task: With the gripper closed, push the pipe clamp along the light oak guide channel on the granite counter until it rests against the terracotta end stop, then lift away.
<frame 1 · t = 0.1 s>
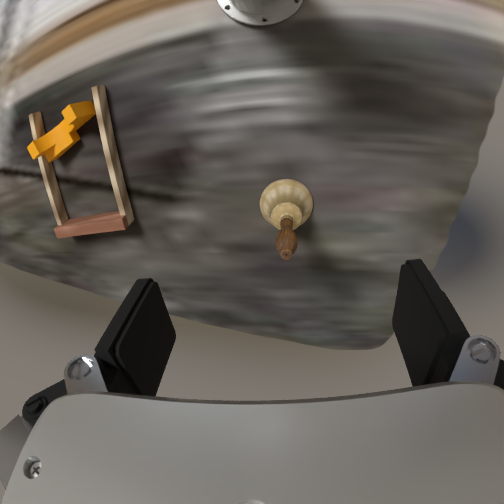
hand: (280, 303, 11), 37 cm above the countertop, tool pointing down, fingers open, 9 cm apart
guide channel: (81, 163, 47), on the countertop
hand bell: (286, 203, 48), on the countertop
pipe clamp: (74, 129, 44), on the countertop
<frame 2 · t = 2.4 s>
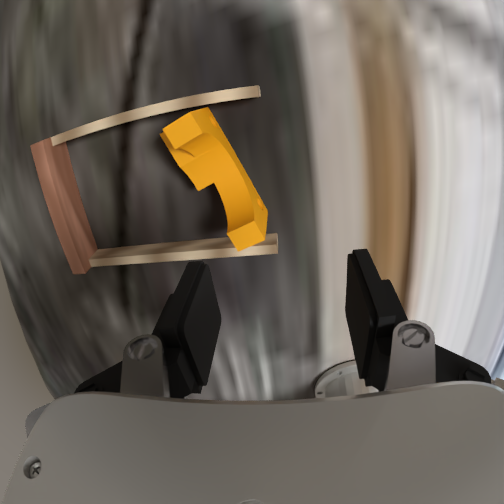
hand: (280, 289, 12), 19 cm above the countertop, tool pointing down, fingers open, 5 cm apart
guide channel: (153, 183, 31), on the countertop
pipe clamp: (220, 169, 30), on the countertop
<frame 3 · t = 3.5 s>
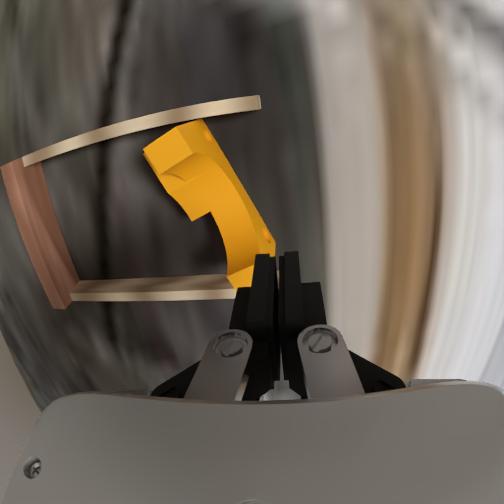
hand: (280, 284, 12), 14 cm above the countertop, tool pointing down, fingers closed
guide channel: (136, 210, 26), on the countertop
pipe clamp: (218, 193, 25), on the countertop
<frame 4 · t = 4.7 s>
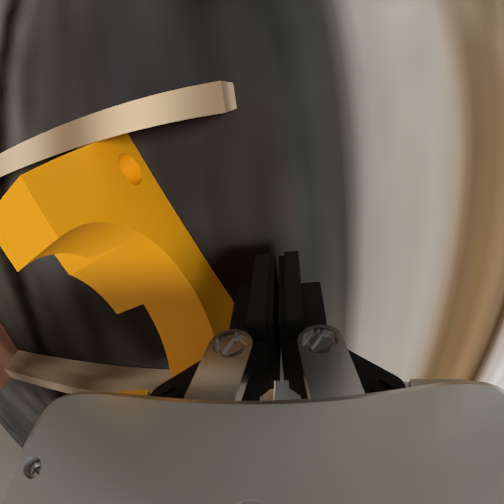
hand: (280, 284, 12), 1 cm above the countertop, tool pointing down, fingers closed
guide channel: (56, 281, 16), on the countertop
pipe clamp: (163, 260, 15), on the countertop, touching gripper
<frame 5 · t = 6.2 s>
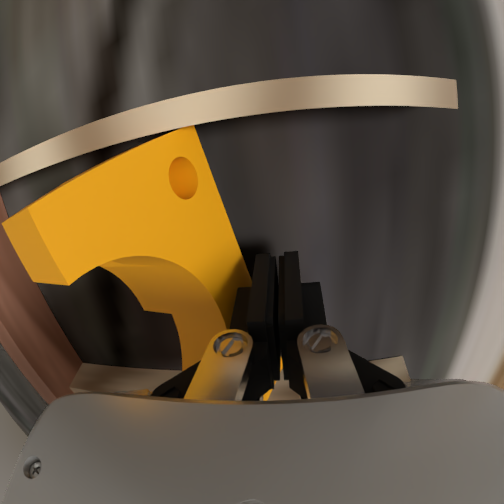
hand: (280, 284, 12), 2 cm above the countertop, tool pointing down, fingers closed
guide channel: (173, 278, 15), on the countertop
pipe clamp: (207, 267, 14), point 1 cm above the countertop, touching gripper
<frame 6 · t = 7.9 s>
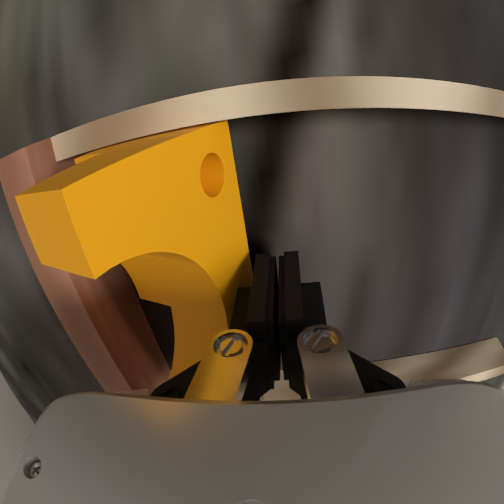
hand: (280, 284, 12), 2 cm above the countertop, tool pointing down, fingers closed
guide channel: (333, 266, 14), on the countertop
pipe clamp: (209, 262, 14), on the countertop, touching gripper
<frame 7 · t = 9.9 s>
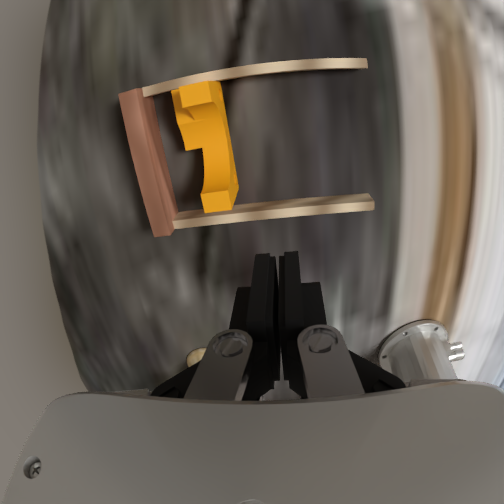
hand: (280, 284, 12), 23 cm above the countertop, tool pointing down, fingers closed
guide channel: (254, 141, 31), on the countertop
pipe clamp: (210, 138, 32), on the countertop
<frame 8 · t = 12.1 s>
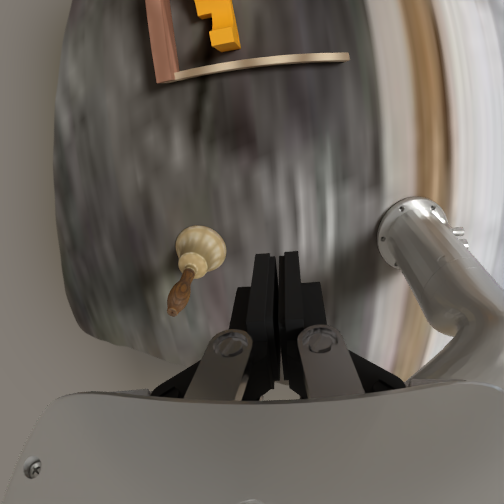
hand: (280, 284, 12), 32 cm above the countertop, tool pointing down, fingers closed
guide channel: (246, 14, 31), on the countertop
hand bell: (200, 248, 50), on the countertop
pipe clamp: (217, 13, 32), on the countertop
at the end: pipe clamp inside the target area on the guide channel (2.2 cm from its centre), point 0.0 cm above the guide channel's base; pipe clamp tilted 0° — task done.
